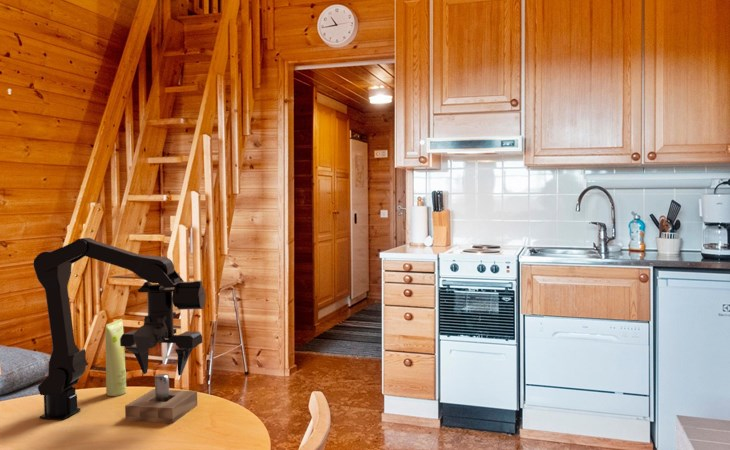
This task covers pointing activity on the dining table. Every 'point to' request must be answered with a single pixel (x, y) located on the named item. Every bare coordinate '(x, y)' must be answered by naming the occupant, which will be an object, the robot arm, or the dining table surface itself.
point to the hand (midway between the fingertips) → (162, 374)
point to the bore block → (161, 407)
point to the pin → (162, 388)
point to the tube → (115, 360)
